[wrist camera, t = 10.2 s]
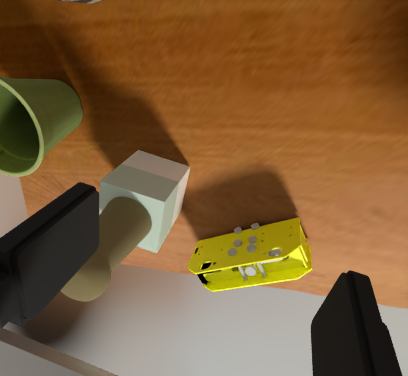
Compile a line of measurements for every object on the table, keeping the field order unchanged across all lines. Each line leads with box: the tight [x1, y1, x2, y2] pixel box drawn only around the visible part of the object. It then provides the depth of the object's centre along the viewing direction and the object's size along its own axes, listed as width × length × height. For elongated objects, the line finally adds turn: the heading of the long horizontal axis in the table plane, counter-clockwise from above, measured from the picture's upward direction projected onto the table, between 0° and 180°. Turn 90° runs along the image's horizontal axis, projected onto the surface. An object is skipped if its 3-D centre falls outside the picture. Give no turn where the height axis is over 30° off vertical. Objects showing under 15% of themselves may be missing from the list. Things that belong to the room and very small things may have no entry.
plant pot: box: [0, 77, 83, 176], centre depth 37 cm, size 12×12×11 cm
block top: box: [100, 164, 179, 253], centre depth 37 cm, size 8×8×5 cm
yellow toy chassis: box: [187, 217, 312, 292], centre depth 41 cm, size 16×6×8 cm, turn 117°
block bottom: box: [121, 150, 190, 227], centre depth 42 cm, size 8×8×5 cm
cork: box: [60, 197, 152, 301], centre depth 31 cm, size 6×6×11 cm
